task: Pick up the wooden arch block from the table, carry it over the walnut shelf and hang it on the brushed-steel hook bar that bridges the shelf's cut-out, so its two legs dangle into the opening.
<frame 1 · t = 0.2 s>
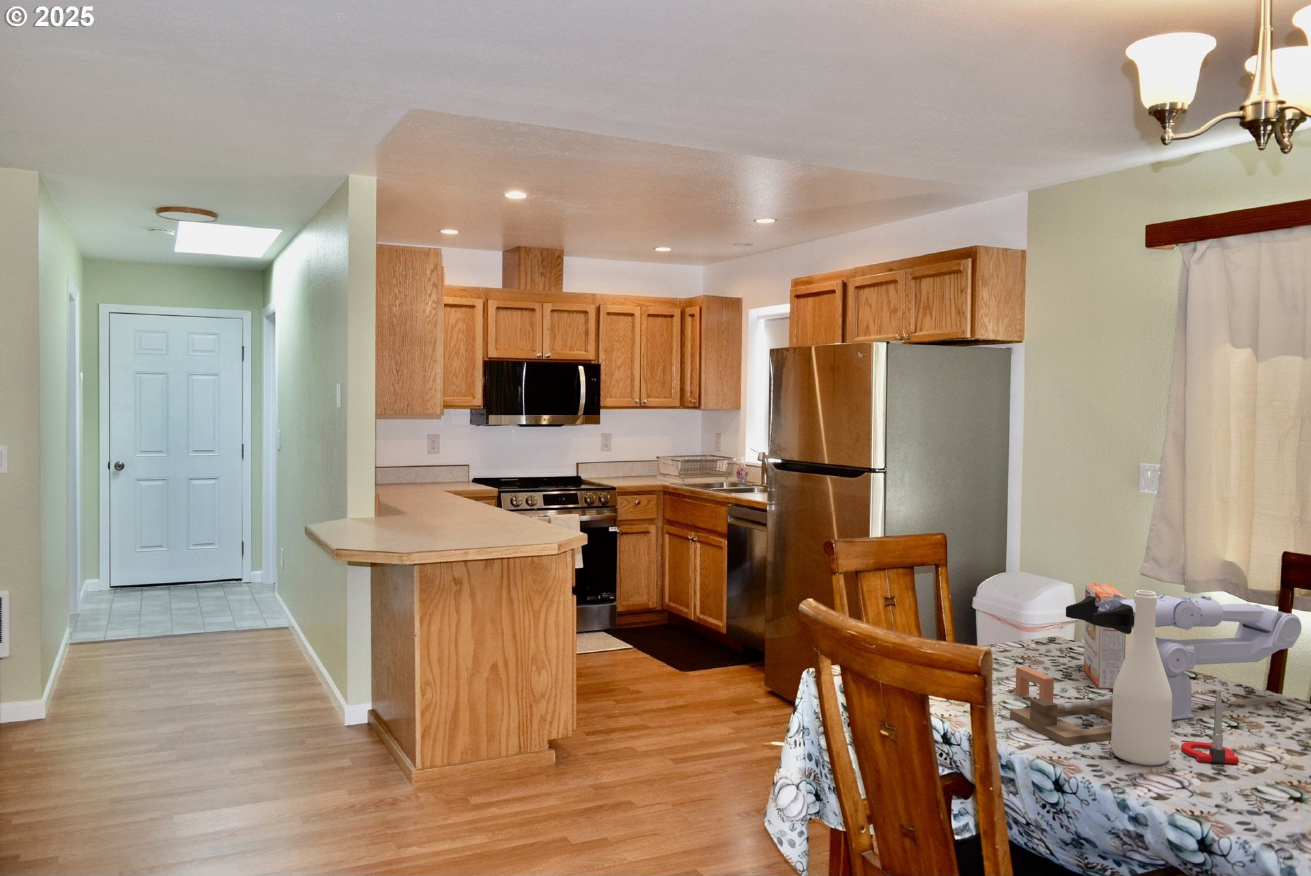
hand: (1080, 615, 193), 21 cm above the table, tool horizontal, fingers open, 7 cm apart
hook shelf: (1087, 724, 194), on the table
cracker box: (1102, 681, 223), on the table
wooden arch block: (1033, 699, 209), on the table
wine bottle: (1139, 757, 177), on the table
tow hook: (1208, 756, 178), on the table
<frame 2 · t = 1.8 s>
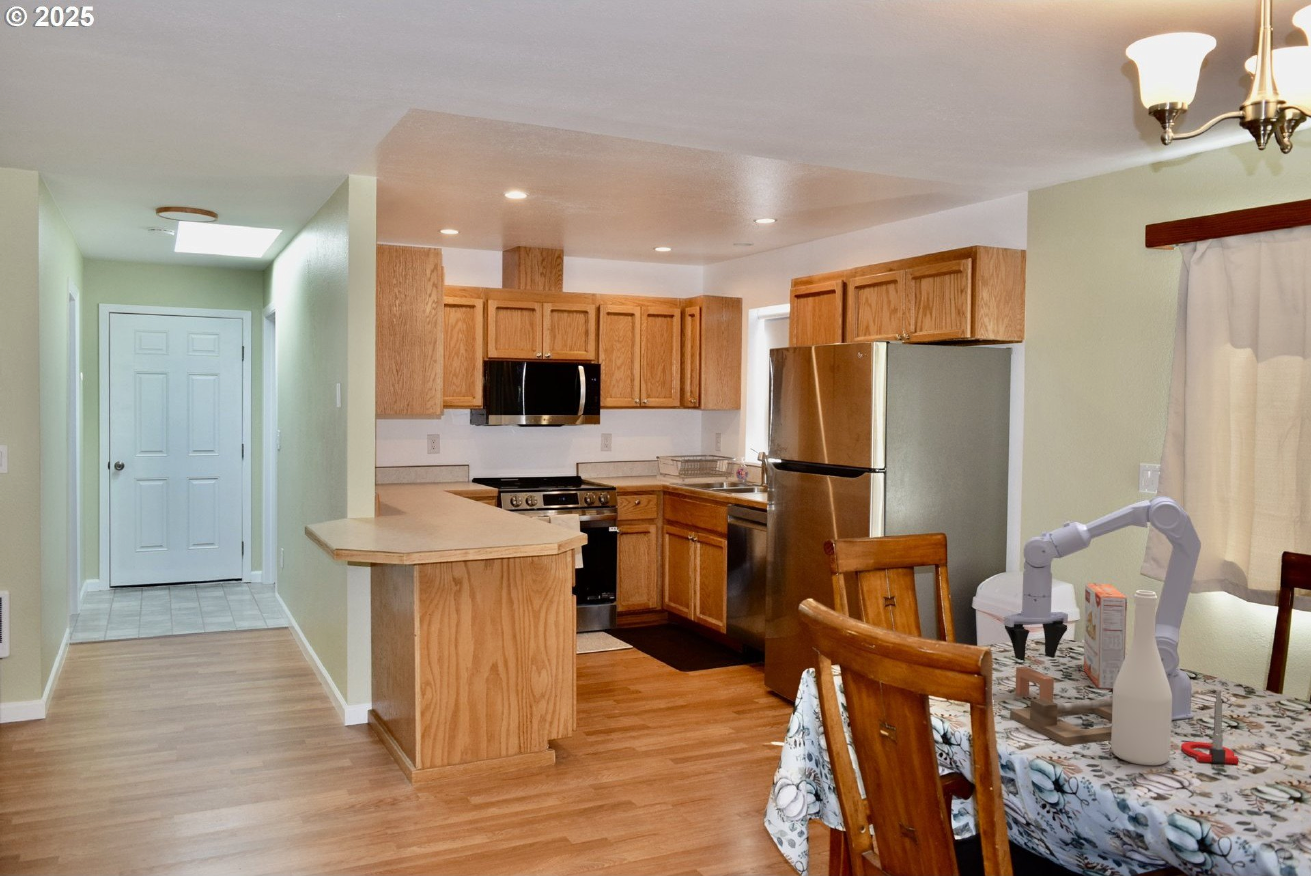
hand: (1034, 657, 208), 9 cm above the table, tool pointing down, fingers open, 7 cm apart
nothing on the table moved.
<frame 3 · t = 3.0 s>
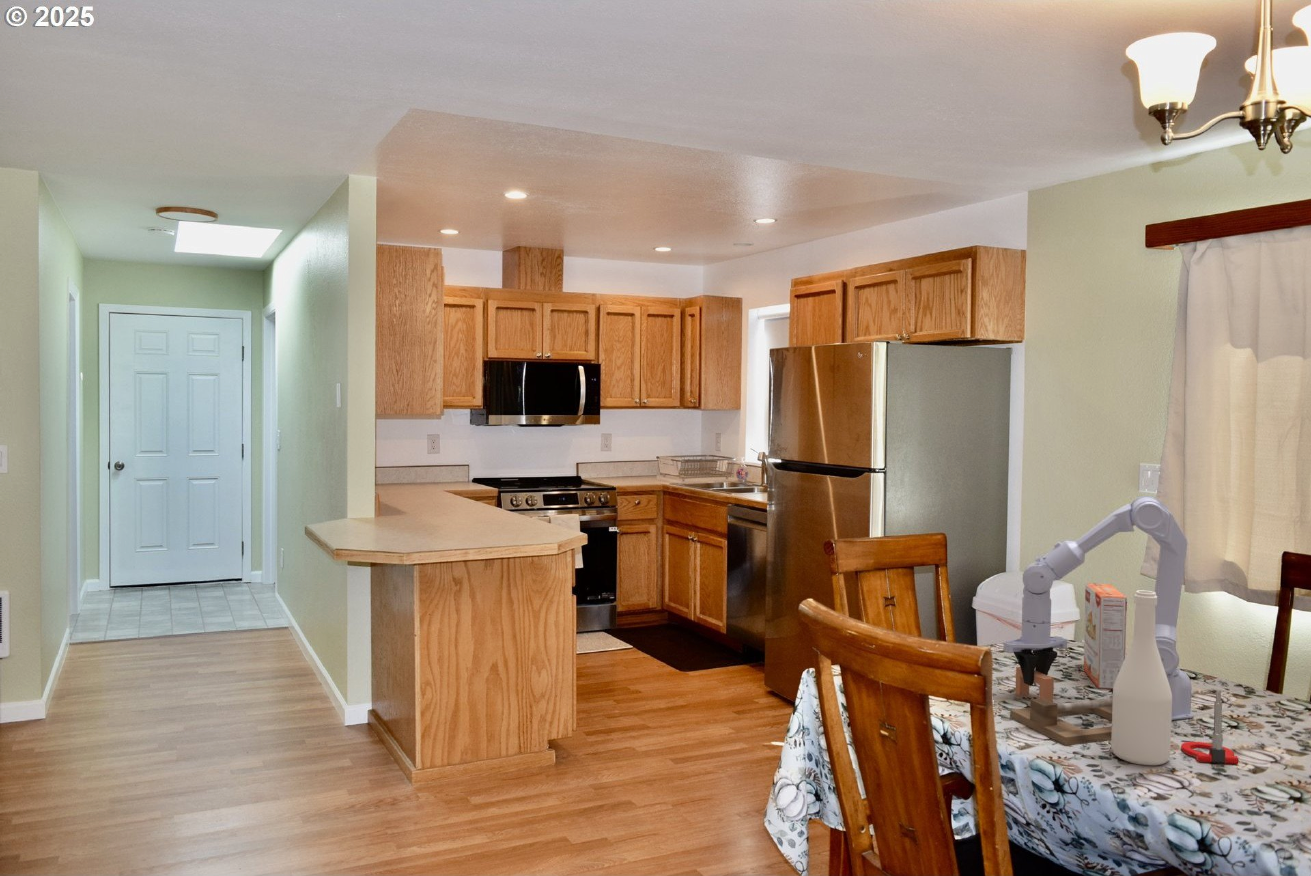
hand: (1034, 683, 209), 3 cm above the table, tool pointing down, fingers closed on wooden arch block, 2 cm apart
wooden arch block: (1033, 699, 209), on the table, touching gripper
everything else where it was.
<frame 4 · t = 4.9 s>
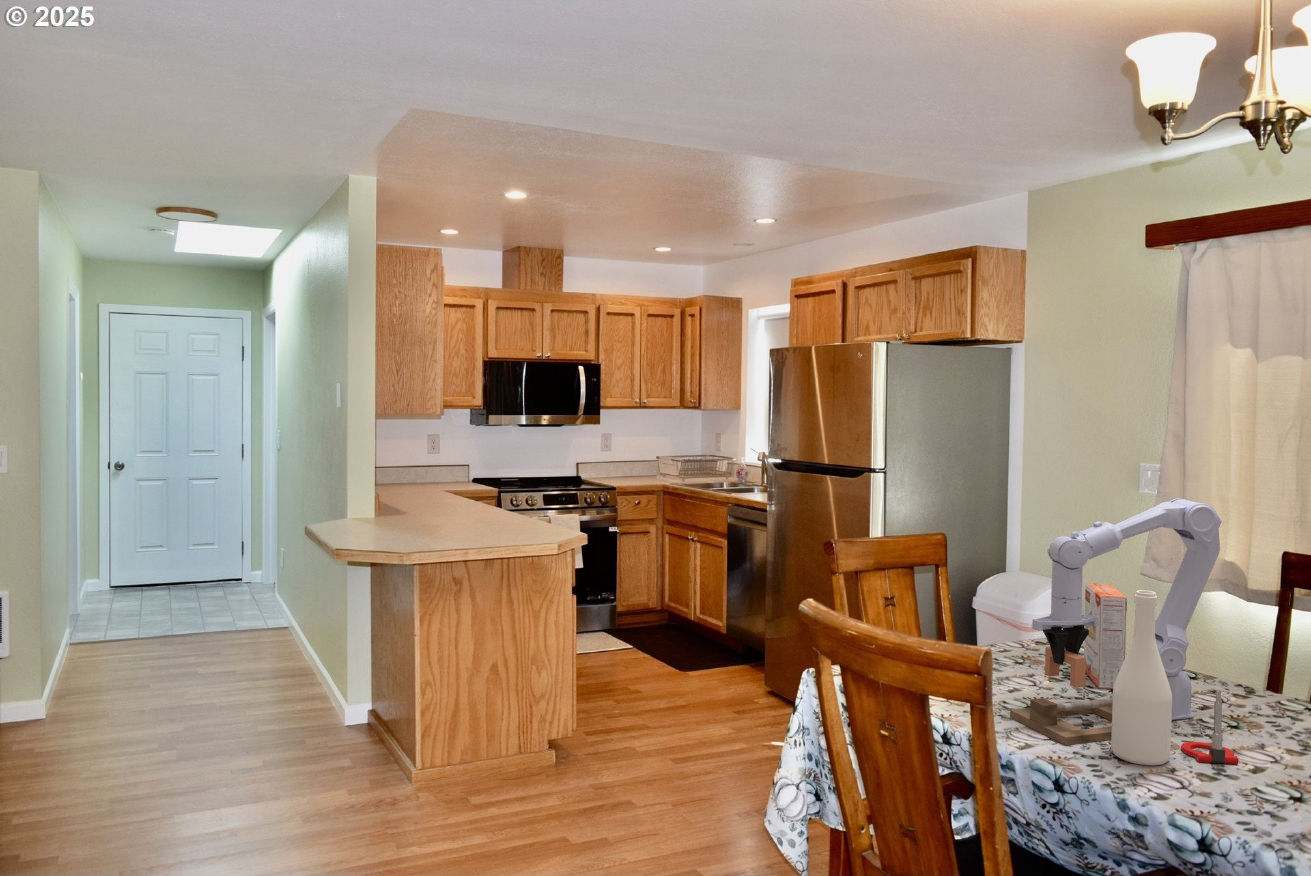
hand: (1064, 662, 200), 10 cm above the table, tool pointing down, fingers closed on wooden arch block, 2 cm apart
wooden arch block: (1064, 680, 200), point 7 cm above the table, touching gripper
everything else where it was.
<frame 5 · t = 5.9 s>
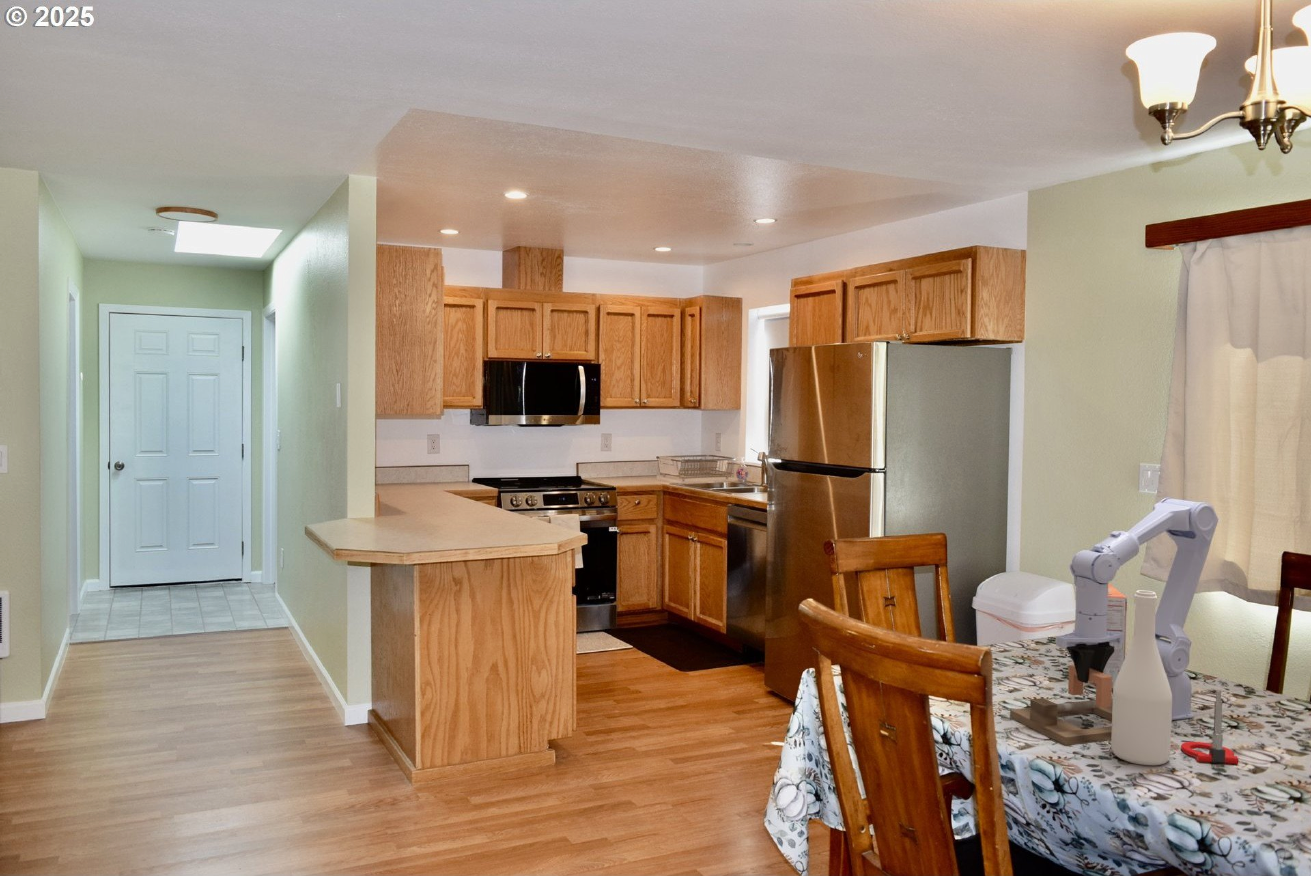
hand: (1089, 680, 193), 9 cm above the table, tool pointing down, fingers closed on wooden arch block, 2 cm apart
wooden arch block: (1089, 699, 193), point 5 cm above the table, touching gripper
everything else where it was.
when the fingers open (5 cm above the table, at t = 6.7 s): wooden arch block drops 1 cm, resting on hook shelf.
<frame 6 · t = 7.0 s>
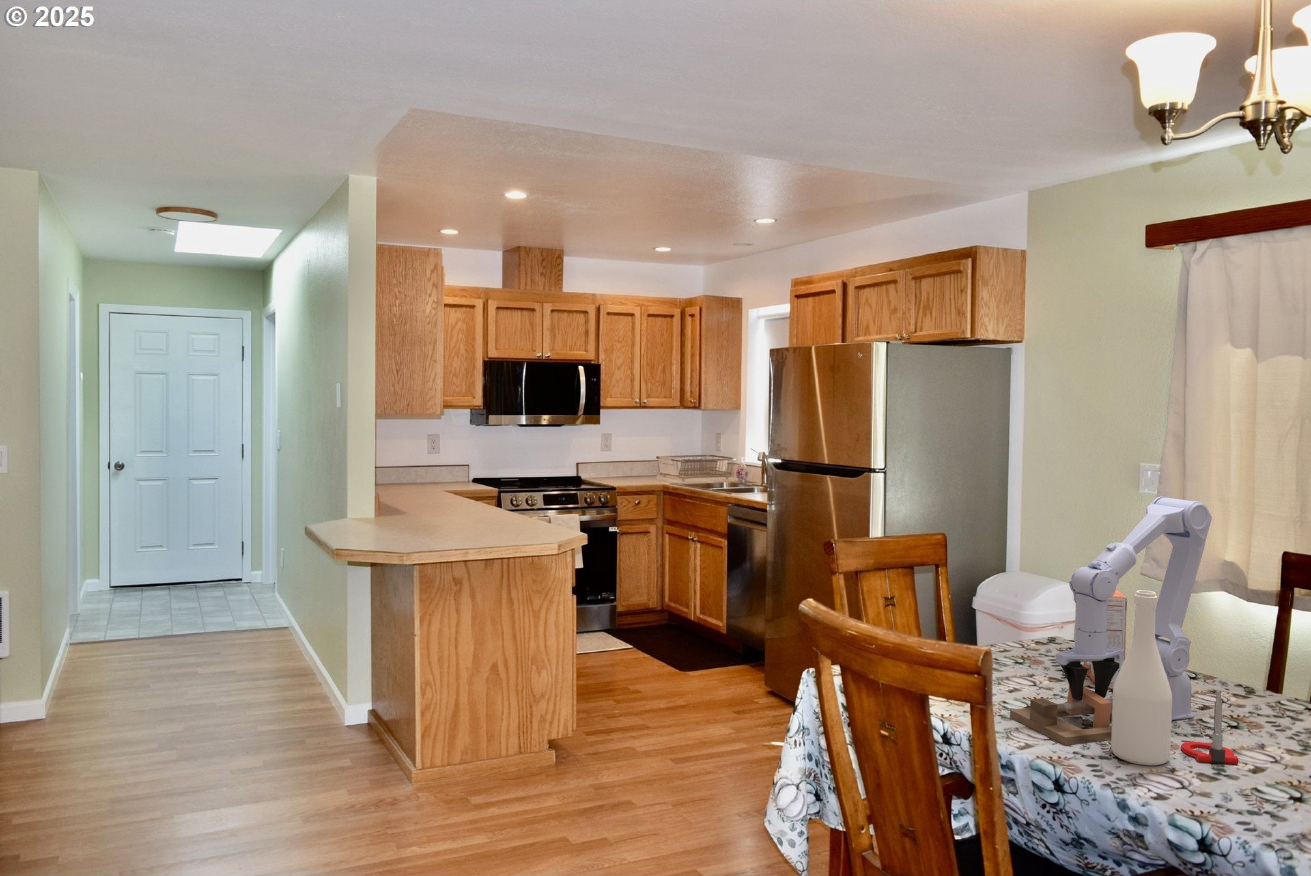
hand: (1088, 697, 193), 5 cm above the table, tool pointing down, fingers open, 5 cm apart
wooden arch block: (1086, 721, 194), point 1 cm above the table, tilted 6°, touching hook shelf
everything else where it was.
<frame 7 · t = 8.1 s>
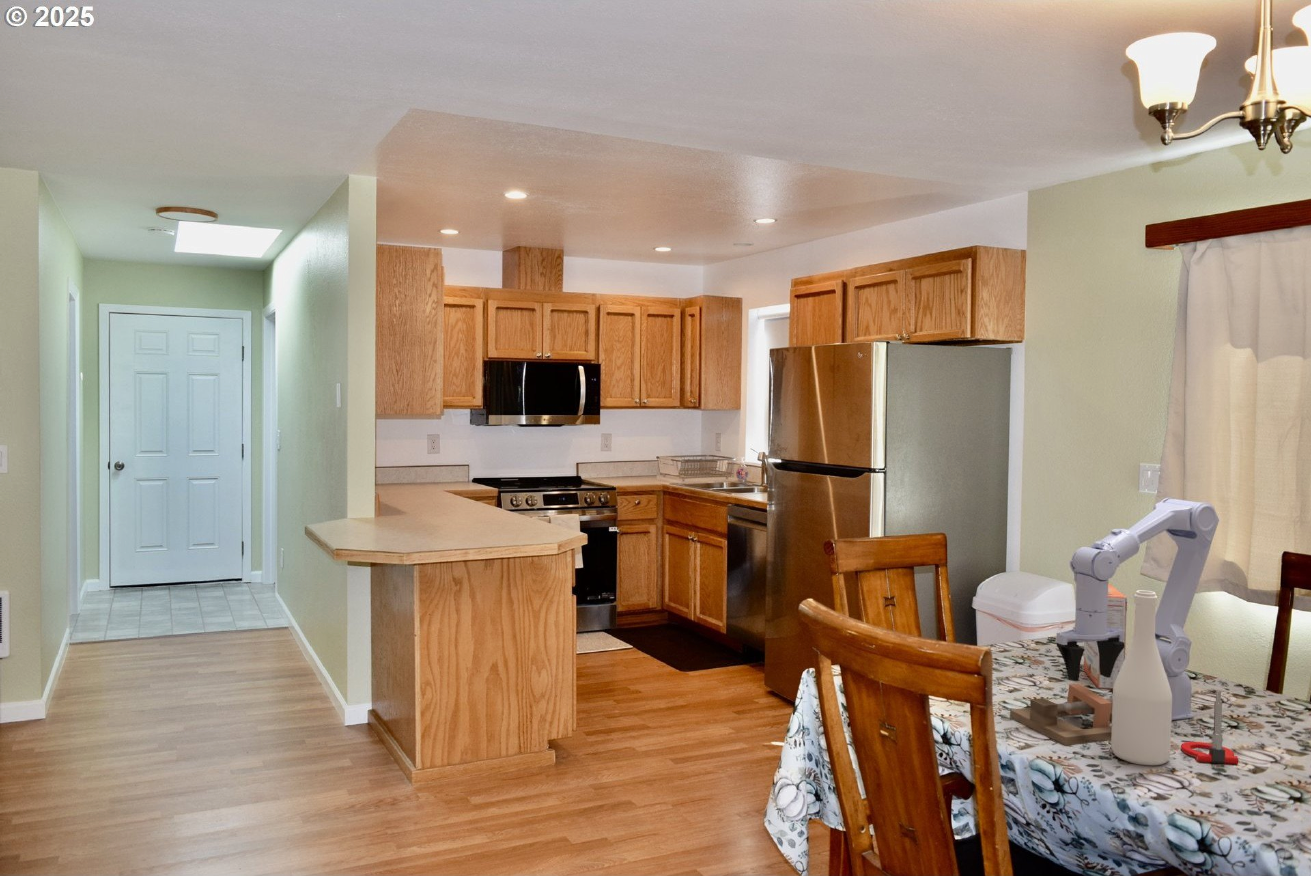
hand: (1089, 677, 193), 9 cm above the table, tool pointing down, fingers open, 7 cm apart
nothing on the table moved.
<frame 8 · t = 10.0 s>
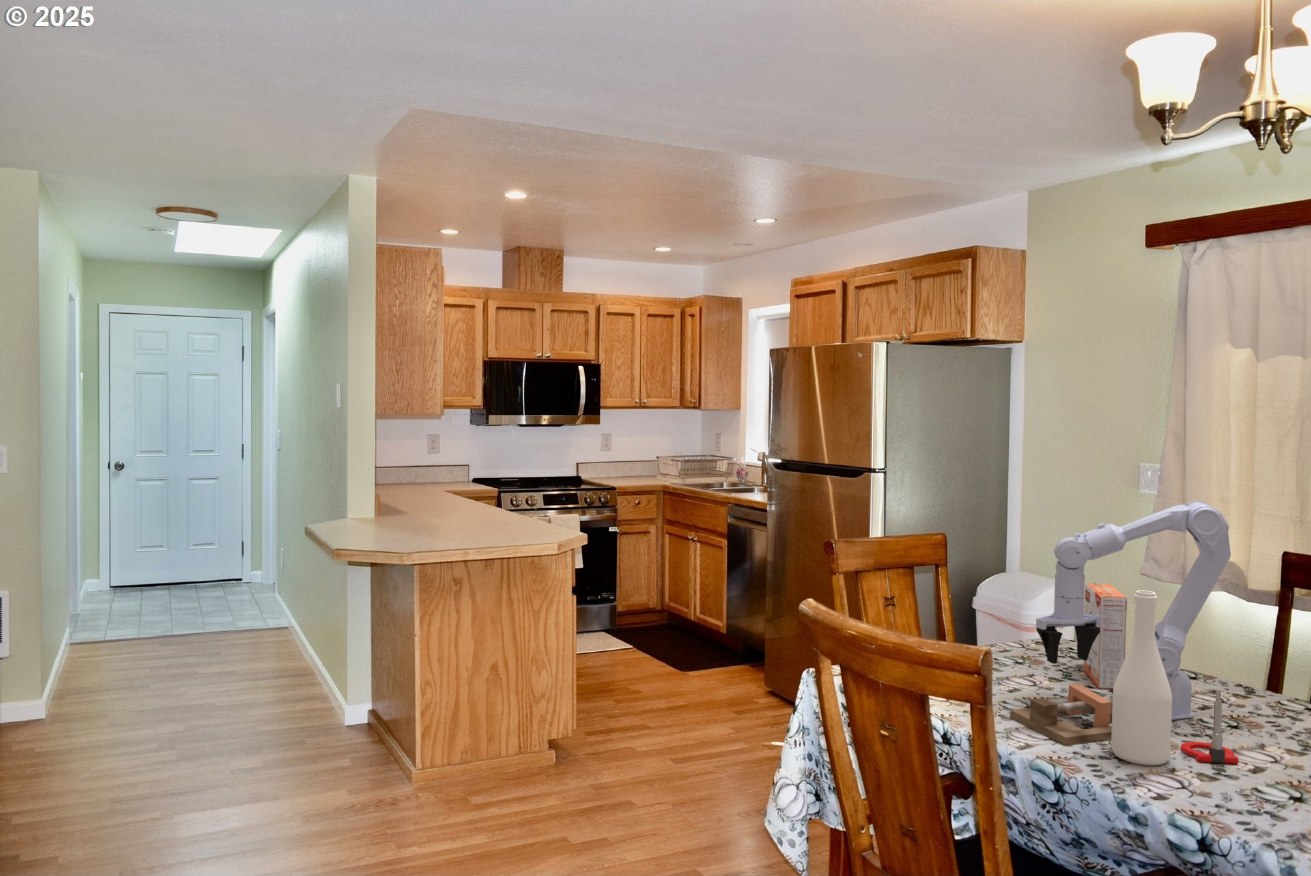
hand: (1067, 660, 205), 9 cm above the table, tool pointing down, fingers open, 7 cm apart
nothing on the table moved.
at the end: wooden arch block 0.2 cm off-centre on the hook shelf, point 0.6 cm above the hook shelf's base; wooden arch block tilted 4°; the gripper is holding nothing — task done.
